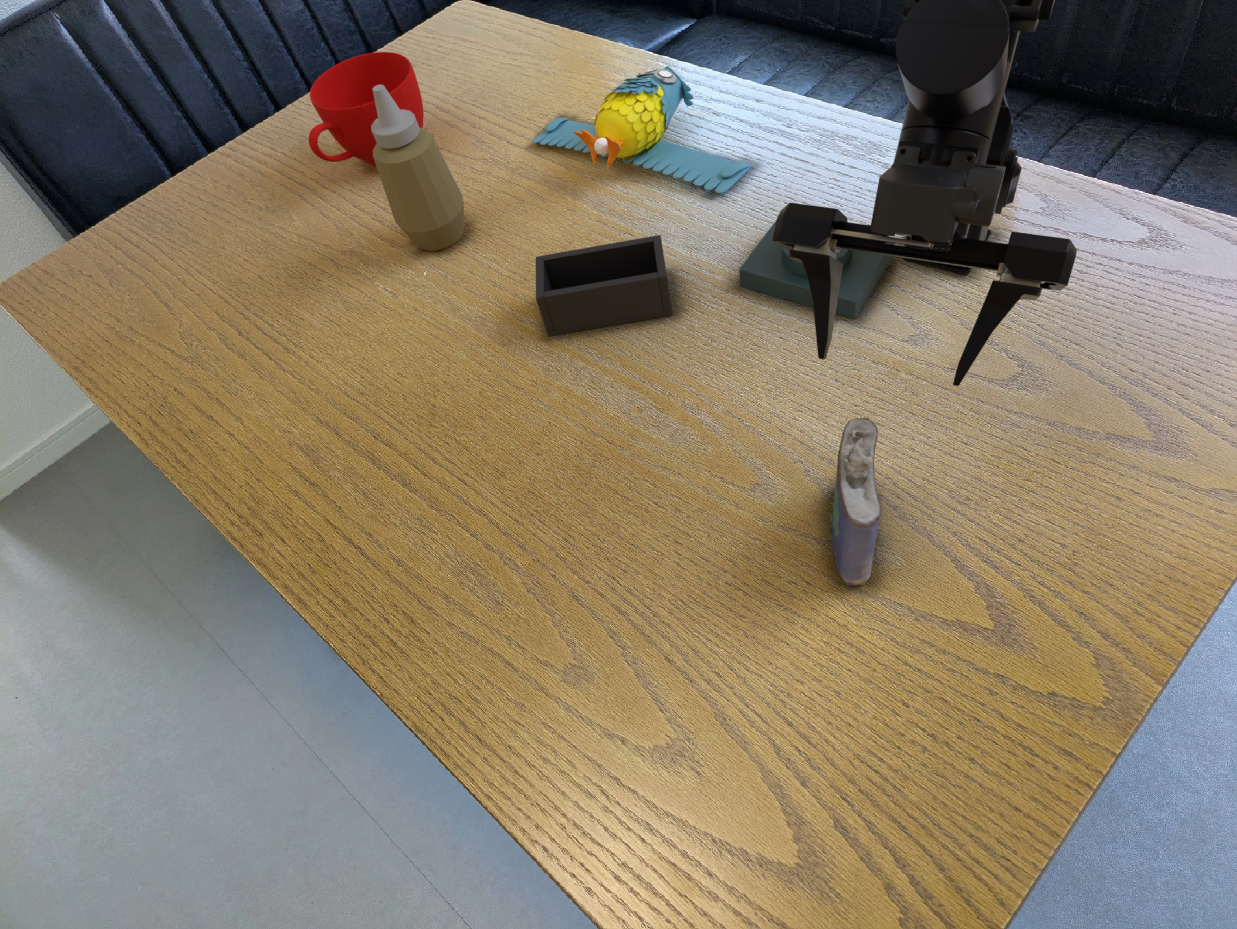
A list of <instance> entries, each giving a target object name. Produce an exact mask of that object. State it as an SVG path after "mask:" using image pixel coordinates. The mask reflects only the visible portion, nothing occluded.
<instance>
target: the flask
mask: <svg viewBox="0 0 1237 929" xmlns="http://www.w3.org/2000/svg"><path fill="white" fill-rule="evenodd" d="M878 437H879V428H878V426H877V425H876V424H875V423H874V421H872V420H871V419H870V418H868V417H857V418H853V419H851V420H849V421H848V422H847V423H846V424H845V426H844V427H843V431H842V435H841V439H840V444H839V449H838V452H837V454H838V455H837V463H836V465H837V466H836V478H835V489H834V490H835V491H834V499H833V501H832V502H833V503H832V509H831V512H830V514H831V516H830V534H831V541H832V542H831V543H832V551H833V560H834V563H835V569H836V572H837V574H838V576H839V578H840V579H841V580H842V582H843V583H844V584H847V585H848V586H863V585H865V584H866V582H868V581H869V580H870V578H871V574H872V566H873V560H874V553H875V548H876V547H875V546H876V542H877V537H878V531H879V526H880V524H881V518H882V505H881V501H880V497H879V495H878V491H877V486H876V476H875V473H876V472H875V456H876V455H875V453H876V446H877V442H878Z"/></svg>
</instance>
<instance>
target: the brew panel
mask: <svg viewBox="0 0 1237 929" xmlns="http://www.w3.org/2000/svg"><path fill="white" fill-rule="evenodd" d="M776 221H777V219H776V220H775V221H774V222H773V224H772V225H771V226H770V228H769V229H768V231H767V232H766V233H765V234H764V236H763V237H762V238H761V240H760V241H759V242H758V244H757V245H756V246H755V248H754V249H753V250H752V251H751V252H750V254H749V256H748V257H747V258H746V260H745V261H744V262H743V263H742V264H741V266H740V267H739V268H738V274H739V276H738V277H739V286H740V287H741V288H744V289H745V288H746V289H749V290H751V291H752V290H753V291H756V292H758V293H759V292H760V293H763V294H766V295H769V296H774V297H776V298H780V299H783V300H785V301H791V302H794V303H798V304H801V305H803V306H807V307H811V308H813V300H812V295H811V290H810V286H809V281H808V278H807V275H806V272H805V269H804V266H803V264H802V263H799V262H797V261H795V260H793V259H791V258H789V249H786V248H785V247H783V246H781V245H779V244H777V243H775V242H773V241H772V240H773V235H774V230H775V226H776ZM887 244H891V245H895V244H893V243H887ZM835 259H836V260H838V261H839V262H841V263H843V269H842V275H841V282H840V288H839V295H838V301H837V308H836V314H835V315H838V316H842V317H845V318H849V319H852V320H856V318H857V316H858V314H859V313H860V311H861V310H862V308H863V306H864V305H865V304H866V302H867V300H868V299H869V297H870V295H871V294H872V292H873V291H874V289H875V287H876V286H877V284H878V283H879V281H880V280H881V278H882V277H883V275H884V273H885V272H886V271H887V269H888V267H889V266H890V263H891V262H892V261H893V256H889V255H882V254H876V253H869V252H862V251H855V250H849V249H842V248H841V249H840V252H839V253H836V258H835Z"/></svg>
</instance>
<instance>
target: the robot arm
mask: <svg viewBox="0 0 1237 929" xmlns="http://www.w3.org/2000/svg"><path fill="white" fill-rule="evenodd" d="M1055 1H1056V0H905V2H904V5H903V10H902V17H903V21H902V23H901V24H900V26H899V27H898V31H897V33H896V39H895V40H896V41H895V56H896V62H897V66H898V69H899V73H900V76H901V79H902V83H903V86H904V90H905V93H906V96H907V99H908V100H907V104H906V109H905V113H904V116H903V121H902V124H901V125H902V126H901V130H900V134H899V138H898V142H897V146H896V151H895V154H894V159H893V163H892V165H891V166H890V167H889V168H887V170H885V172H883V173H882V174H881V175H880V176H879V178H878V183H877V188H876V194H875V199H874V205H873V210H872V216H871V221H870V224H864V223H856V222H848V217H847V216H846V215H845V214H844V213H843V212H842V211H841V210H840V209H839V208H835V207H829V206H828V207H827V206H819V205H812V204H806V203H805V204H804V203H797V202H788V203H787V204H786V205H785V206H784V207H783V208H782V209H781V210H780V212H779V213H778V215H777V217H776V220H777V221H776V220H775V221H776V226H775V230H774V235H773V240H772V241H773V242H775V243H777V244H779V245H781V246H783V247H785V248H786V249H789V258H791V259H793V260H795V261H797V262H799V263H802V264H803V266H804V269H805V272H806V275H807V278H808V281H809V286H810V290H811V295H812V300H813V307H812V308H813V317H814V318H813V319H814V327H815V328H814V329H815V340H816V350H817V358H818V359H819V360H826V359H827V356H828V354H829V349H830V346H831V342H832V338H833V334H834V333H833V332H834V327H835V321H836V315H837V314H836V308H837V301H838V295H839V288H840V282H841V275H842V269H843V263H841V262H839V261H838V260H836V259H835V258H836V253H839V252H840V249H841V248H842V249H849V250H855V251H862V252H869V253H876V254H882V255H889V256H892V257H896V258H897V257H898V258H902V259H904V260H905V261H909V262H913V263H917V264H921V265H925V266H929V267H934V268H937V269H941V270H945V271H949V272H953V273H956V274H961V275H969V274H971V272H972V271H973V269H976V270H977V269H978V270H983V271H984V270H985V271H990V272H991V271H992V272H996V276H995V277H996V278H999V279H998V280H992V281H991V284H990V286H989V289H988V291H987V294H986V296H985V298H984V301H983V303H982V306H981V309H980V311H979V314H978V316H977V318H976V320H975V323H974V324H973V327H972V330H971V331H970V335H969V337H968V339H967V342H966V344H965V346H964V348H963V351H962V353H961V356H960V358H959V360H958V364H957V366H956V370H955V375H954V378H953V382H952V386H954V387H959V386H960V385H961V384H962V381H963V380H964V378H965V377H966V376H967V374H968V372H969V371H970V369H971V367H972V366H973V364H974V363H975V361H976V360H977V358H978V356H979V354H980V352H981V351H982V350H983V348H984V346H985V345H986V344H987V342H988V340H989V339H990V337H991V336H992V334H993V333H994V332H995V330H996V329H997V327H998V326H999V325H1000V324H1001V323H1002V321H1003V320H1004V319H1005V318H1006V316H1007V315H1008V314H1009V313H1010V312H1011V310H1012V309H1013V308H1014V307H1015V305H1017V303H1018V302H1019V301H1020V300H1025V301H1034V302H1035V301H1037V300H1038V299H1039V298H1040V297H1041V295H1042V291H1043V290H1048V291H1062V290H1064V289H1065V288H1066V287H1068V285H1069V282H1070V279H1071V278H1070V277H1071V275H1072V271H1073V269H1074V268H1073V267H1074V264H1075V261H1076V257H1077V253H1078V249H1077V248H1076V246H1075V244H1074V243H1073V242H1072V240H1071V239H1070V238H1065V237H1057V236H1049V235H1041V234H1034V233H1026V232H1025V233H1024V232H1018V231H1011V232H1010V236H1009V238H1008V243H1005V242H1003V243H1002V242H996V241H989V240H990V238H991V236H992V231H991V230H990V229H989V227H990V226H991V225H992V222H993V220H994V216H995V214H996V215H1002V211H1003V209H1004V208H1006V206H1007V205H1010V204H1012V203H1014V200H1015V196H1016V193H1017V189H1018V185H1019V181H1020V177H1021V172H1022V166H1021V164H1020V163H1019V161H1018V159H1019V157H1018V156H1017V155H1018V148H1015V147H1011V143H1012V139H1013V136H1014V126H1015V122H1014V119H1013V116H1012V113H1011V109H1010V106H1009V103H1008V99H1007V96H1006V93H1005V91H1006V89H1007V84H1008V80H1009V76H1010V73H1011V68H1012V64H1013V62H1014V57H1015V53H1016V49H1017V45H1018V42H1019V39H1020V38H1019V37H1020V35H1021V34H1020V33H1021V32H1030V33H1031V32H1032V33H1036V30H1037V27H1038V24H1039V21H1049V20H1050V18H1051V15H1052V11H1053V9H1054V5H1055ZM896 235H897V236H903V237H904V238H900V237H895V236H896ZM887 243H893V244H894V245H891V244H887Z"/></svg>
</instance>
